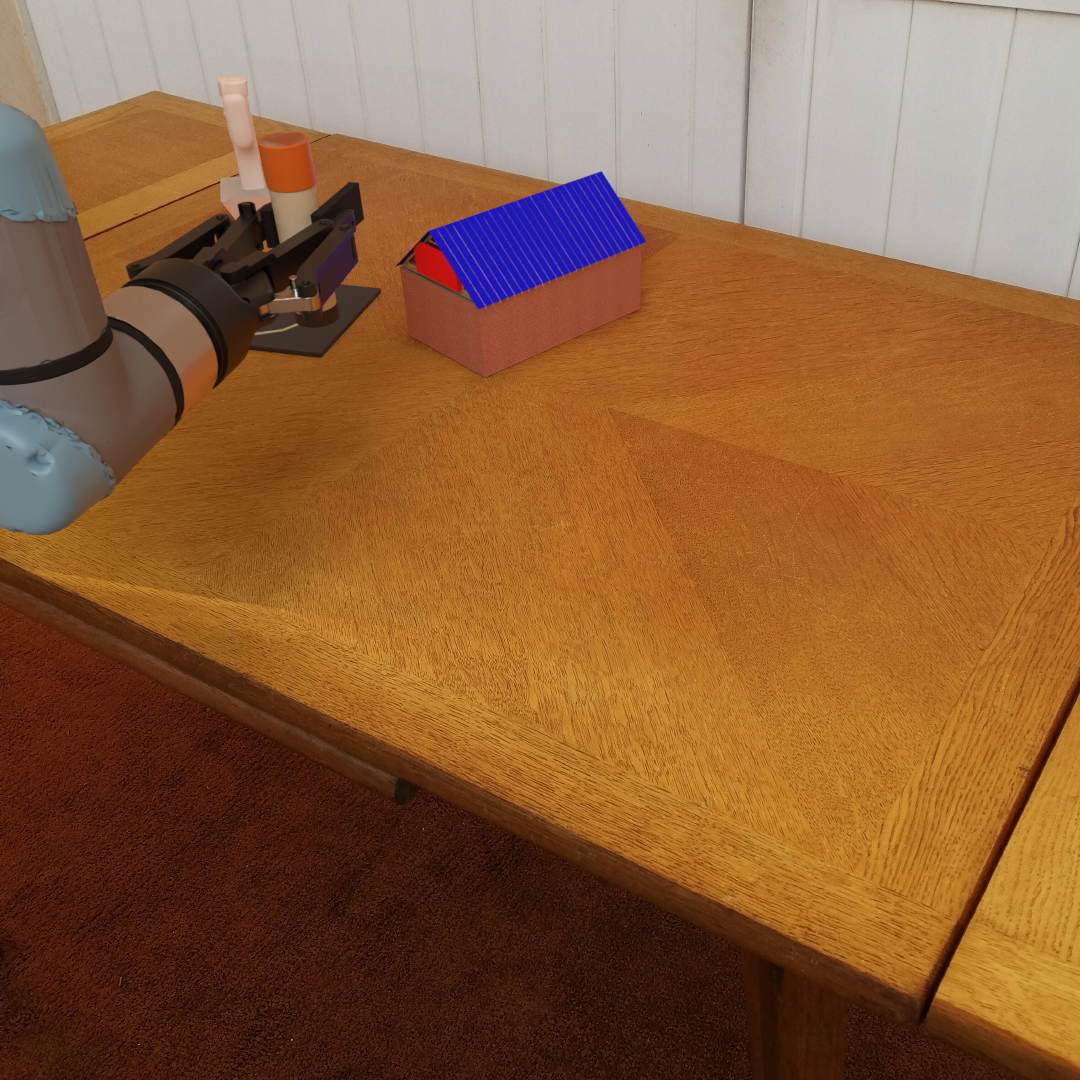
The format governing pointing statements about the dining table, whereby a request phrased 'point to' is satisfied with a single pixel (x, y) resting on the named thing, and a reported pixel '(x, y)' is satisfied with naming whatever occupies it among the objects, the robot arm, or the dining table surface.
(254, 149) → the figurine
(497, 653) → the dining table surface
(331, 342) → the slate board
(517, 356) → the house
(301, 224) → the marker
